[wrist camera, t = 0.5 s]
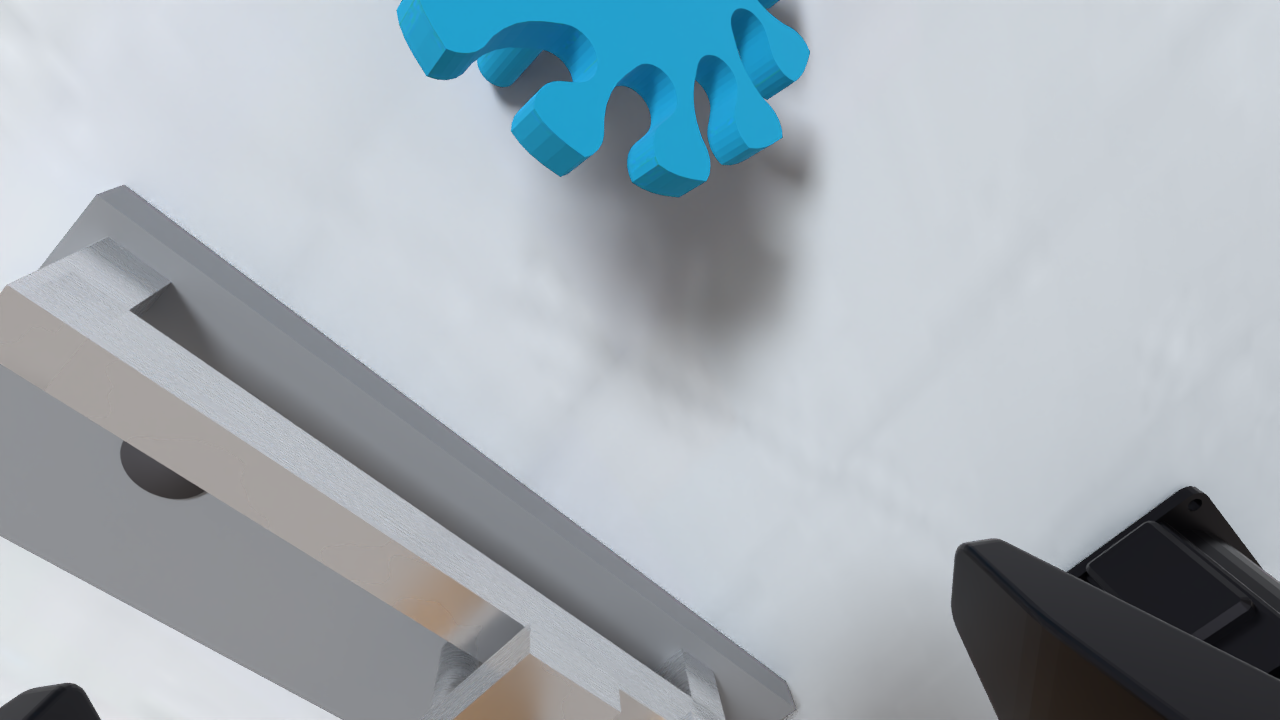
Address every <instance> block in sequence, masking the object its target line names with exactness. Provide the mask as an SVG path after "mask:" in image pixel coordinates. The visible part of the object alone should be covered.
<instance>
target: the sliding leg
mask: <svg viewBox="0 0 1280 720" xmlns="http://www.w3.org/2000/svg"><path fill="white" fill-rule="evenodd" d="M478 666H479V660H477V659H476V658H474V657H472V656H471V655H469V654H468V653H466V652H464V651H463V650H461V649H460V648H458V647H456V646H455V645H453V644H451V643H450V642H447V643H445V644H444V645H443V647H442V649H441V652H440V658H439V663H438V669H437V674H436V680H435V686H434V691H433V697H432V703H431V708H430V710H429V711H428V712H427V713H426V714H425V715H424V716H423V717H421V718H420V719H419V720H612V719H614V718H615V717H616V716H617V715H619V714H620V713H621V706H620V696H619V686H618V680H617V679H616V678H614V677H613V676H611V675H610V674H608V673H607V672H605V671H604V670H602V669H601V668H599V667H598V666H596V665H595V664H593V663H592V662H590V661H589V660H587V659H586V658H584V657H583V656H581V655H580V654H578V653H577V652H575V651H574V650H572V649H571V648H569V647H568V646H566V645H564V644H563V643H561V642H560V641H558V640H557V639H555V638H554V637H552V636H551V635H549V634H548V633H546V632H545V631H543V630H542V629H540V628H539V627H537V626H536V625H534V624H533V623H531V622H530V623H529V624H528V625H527V626H526V627H525V628H523V629H522V630H521V631H520V632H519V633H518V634H517V635H515V636H514V637H513V638H512V639H511V640H510V641H508V642H507V643H506V644H505V645H504V646H503V647H502V648H500V649H499V650H498V651H497V652H496V653H495V654H494V655H492V656H491V657H490V658H489V659H488V660H487V661H486V662H484V663H483V664H482V665H481V666H480V667H479V668H478Z"/></svg>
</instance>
